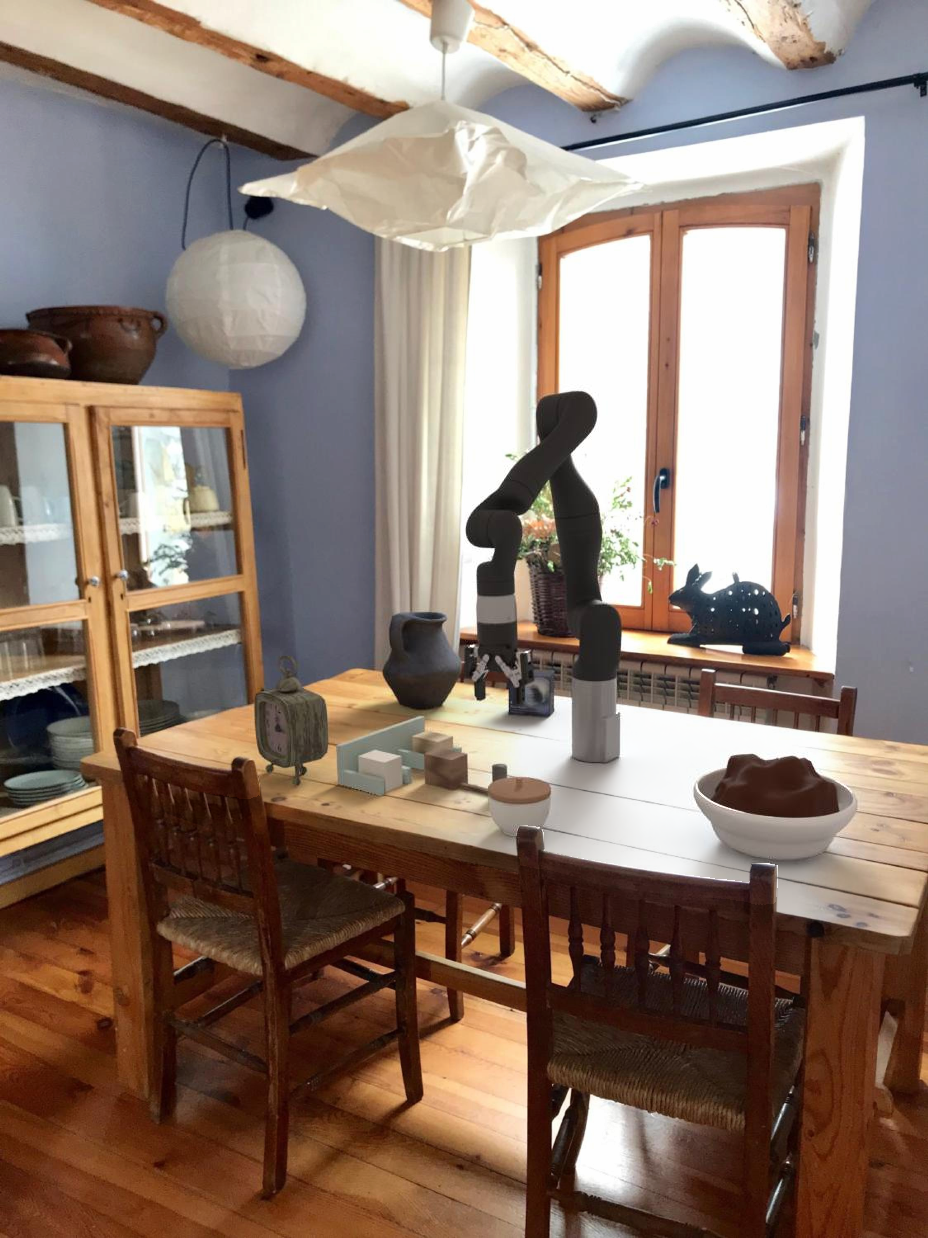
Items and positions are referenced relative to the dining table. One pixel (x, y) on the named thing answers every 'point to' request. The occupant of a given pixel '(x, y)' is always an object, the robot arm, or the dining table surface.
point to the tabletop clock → (290, 724)
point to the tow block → (454, 770)
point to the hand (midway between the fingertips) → (499, 702)
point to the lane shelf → (383, 740)
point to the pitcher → (420, 660)
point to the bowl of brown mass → (774, 806)
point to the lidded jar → (519, 803)
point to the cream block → (382, 767)
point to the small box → (535, 695)
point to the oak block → (431, 742)
